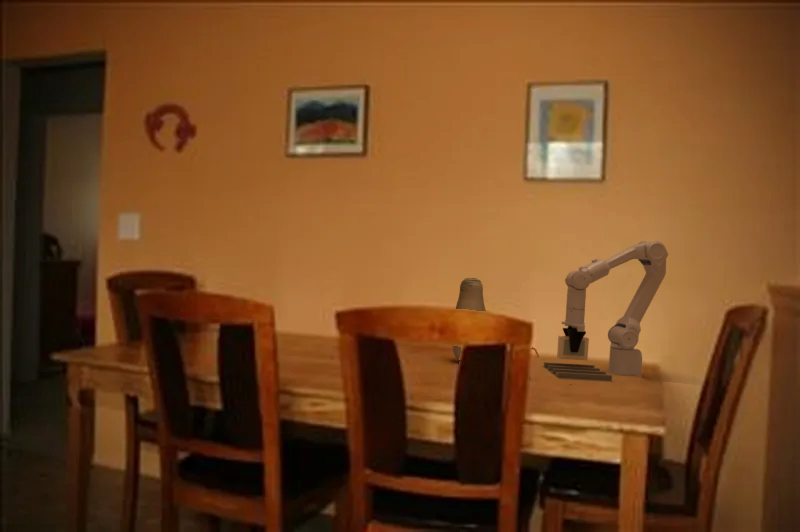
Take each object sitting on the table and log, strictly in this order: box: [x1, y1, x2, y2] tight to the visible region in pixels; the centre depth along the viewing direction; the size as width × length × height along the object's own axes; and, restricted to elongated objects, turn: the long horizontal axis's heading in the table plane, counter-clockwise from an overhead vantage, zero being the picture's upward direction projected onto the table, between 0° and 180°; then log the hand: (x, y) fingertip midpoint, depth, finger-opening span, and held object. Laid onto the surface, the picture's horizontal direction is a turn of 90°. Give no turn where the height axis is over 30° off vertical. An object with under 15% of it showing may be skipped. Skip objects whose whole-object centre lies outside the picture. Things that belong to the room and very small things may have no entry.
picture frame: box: [556, 335, 590, 361], centre depth 199 cm, size 9×2×7 cm, turn 91°
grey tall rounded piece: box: [452, 277, 487, 361], centre depth 207 cm, size 10×10×28 cm
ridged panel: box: [542, 361, 614, 383], centre depth 194 cm, size 16×20×2 cm
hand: (572, 351), depth 199 cm, fingers closed on picture frame, 2 cm apart
